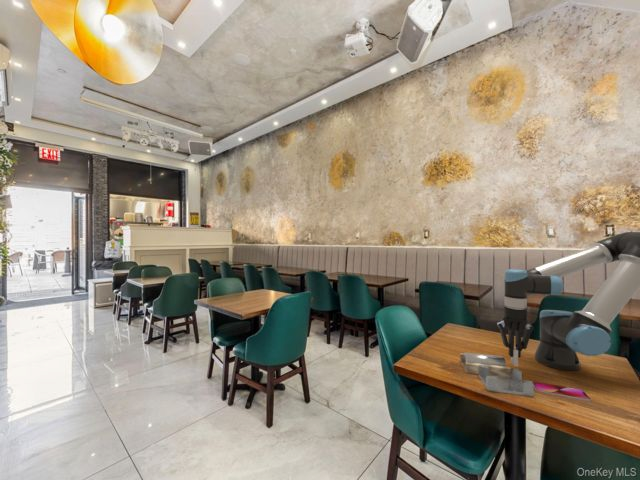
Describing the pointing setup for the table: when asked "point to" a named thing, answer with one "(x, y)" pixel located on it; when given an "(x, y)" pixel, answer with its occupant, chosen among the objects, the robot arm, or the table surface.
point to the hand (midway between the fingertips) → (514, 364)
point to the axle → (484, 359)
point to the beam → (492, 368)
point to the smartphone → (561, 391)
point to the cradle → (506, 382)
